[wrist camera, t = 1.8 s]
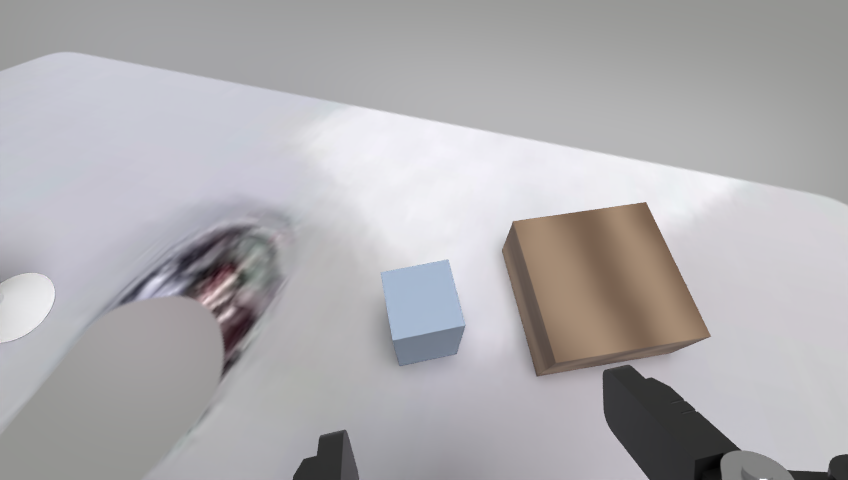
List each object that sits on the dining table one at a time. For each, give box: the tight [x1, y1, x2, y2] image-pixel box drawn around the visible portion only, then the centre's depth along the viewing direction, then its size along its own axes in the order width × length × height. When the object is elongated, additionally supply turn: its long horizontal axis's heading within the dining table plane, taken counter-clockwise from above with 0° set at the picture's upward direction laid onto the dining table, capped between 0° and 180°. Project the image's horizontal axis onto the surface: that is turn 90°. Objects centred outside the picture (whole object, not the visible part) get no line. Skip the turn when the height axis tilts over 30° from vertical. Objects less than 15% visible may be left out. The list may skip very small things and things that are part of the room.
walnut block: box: [502, 202, 711, 376], centre depth 36 cm, size 12×12×6 cm
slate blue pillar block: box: [381, 260, 465, 366], centre depth 33 cm, size 5×5×9 cm
